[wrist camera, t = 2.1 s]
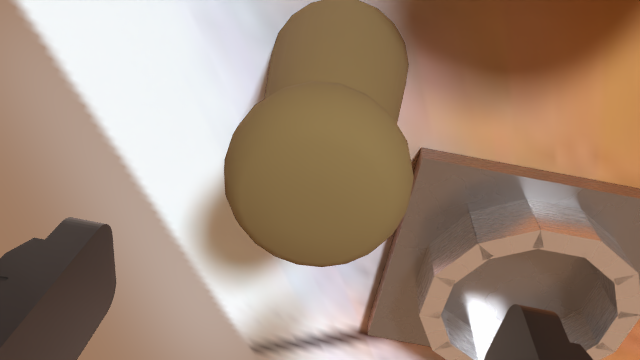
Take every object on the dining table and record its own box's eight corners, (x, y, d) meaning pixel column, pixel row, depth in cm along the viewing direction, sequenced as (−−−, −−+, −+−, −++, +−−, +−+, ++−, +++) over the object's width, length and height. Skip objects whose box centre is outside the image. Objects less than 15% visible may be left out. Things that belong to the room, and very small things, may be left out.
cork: (359, 153, 24) (350, 331, 14) (248, 89, 22) (158, 237, 13) (437, 46, 21) (489, 183, 11) (313, -33, 20) (257, 45, 10)
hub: (368, 321, 29) (367, 369, 27) (421, 147, 23) (428, 185, 20) (580, 361, 29) (602, 413, 27) (691, 198, 23) (736, 243, 20)
